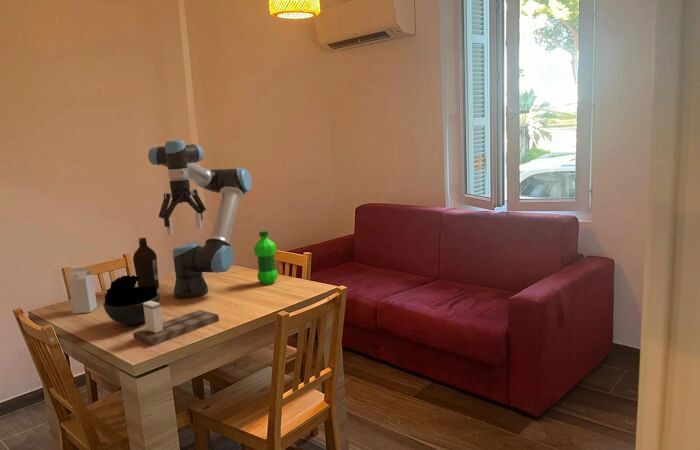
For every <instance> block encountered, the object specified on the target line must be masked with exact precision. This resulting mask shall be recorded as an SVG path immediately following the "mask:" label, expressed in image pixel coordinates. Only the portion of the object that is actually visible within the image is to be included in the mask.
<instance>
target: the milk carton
mask: <svg viewBox="0 0 700 450" xmlns="http://www.w3.org/2000/svg"><path fill="white" fill-rule="evenodd" d="M69 270H70V272H69V274H68V275H69V276H68V279H67V281H68V283H67V284H68V289H69V294H70V299H71V300H70V301H71V307H72V314H74V315H75V314H85V313H91V312H93V311H95V309H96V308H98V303H97V297H96V291H95V284H94V277H93V273H92V272H91V271H90V270H89V268H88V267H87V266H86V267H84V266H83V267H75V268H74V267H71V268H70V269H69Z"/></svg>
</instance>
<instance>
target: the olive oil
mask: <svg viewBox="0 0 700 450" xmlns="http://www.w3.org/2000/svg"><path fill="white" fill-rule="evenodd" d="M157 257H158V256H157V253H156V252H155V250H154V249H152V248H151V247H150V246H148V243H147V238H146V237H139V238H138V248H137V249H136V250H135V252H133V257H132V261H133V267H134V271H135V272H134V273H135V276H136V277H139V279H138V280H137V282H136V284H137V287H142V286H148V287H151V286H153V285H154V286H155V287H156V289H159V288H160V283H159V281H160V280H159V271H158V258H157Z"/></svg>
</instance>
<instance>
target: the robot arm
mask: <svg viewBox="0 0 700 450" xmlns="http://www.w3.org/2000/svg"><path fill="white" fill-rule="evenodd" d="M204 156H205V155H204V149H203V148H202V147H201V146H200V145H199V144H186V143H185V141H184V140H182V139H181V140H180V139H179V140H177V139H176V140H168V141H165V143H164V146H163V145H162V146H159V145H158V146H153V147H150V149H149V150H148V153H147V159H148V161H149V163H150V164H152V165H153V166H154V165H156V166H163V167H165V168H166V167H167V173H168V179H169V189H170V191H171V192H169V193H168V192H165V193H163V201H162V204H161V207H160V211H159V214H158V218H160V219H163V221H164V227H165V228H166V231H167V235H168V236H173V235H174V232H173V230H174V229H173V224H172V218H170V217H171V215H172V214H173V212H174V210H175V208H176V207H177V206H178V204H183V203H188V204H189V206H190V207H191V208H192V209H193V210H194V211H195V212H196V213H194V214H195V215H194V216H195V223H196V229H197V230H202V229H203V223H202V221H203V213H204V211H205V212H206V210H207V208H206V207H205V204H204V203H203V201H202V200H201V198H200V196H199V194H198V190H197V189H191V190H190V188H191V186H190V185H191V184H190V180H191V181H193V182H194V183H195V185H197V186H198V187H200V188H201V189H204V190H206V191H209V192H212V193H216V194H220V195H221V196H220V197H221V198H220V202H219V205H218V208H217V213H216V216H215V220H214V223H213V226H212V230H211V234H210V237H209V238H207V239H205V241H204V246H201V245H200V243H199V242H191V243H185V244H182V245H181V244H180V245H178V246H175V247H174V248H173V249H172V250H173V251H172V258H173V264H174V265H173V266H174V272H175V273H174V274H175V284H174V288H173V296H174V298H175V299H180V300H184V299H185V300H187V299H194V298H198V297H199V298H200V297H203V296H204V295H207V294H208V293H209V287H208V284H207V283H206V280H205V277H204V275H203V273H214V274H219V273H225V272H227V271H229V270H230V268H231V267H232V266H233V263H234V259H235V257H234V255H235V252H234V249H233V248H232V245H231V243H230V239H231V236H232V232H233V228H234V224H235V221H236V216H237V212H238V208H239V205H240V202H241V200H244V197H245V194H246V193H249V192H251V190H252V187H253V186H252V184H253V183H252V177H251V175H250V172H249V171H248V170H247V169H246V168H241V167H240V168H239V167H237V168H221V169H220V168H218V169H211V168H208V167H205V166H203V167H202V166H201V165H199V164H197V163H198V162H201V161H202V159H203V158H204ZM189 179H190V180H189ZM171 198H172V199H171Z"/></svg>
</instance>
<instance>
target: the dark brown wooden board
mask: <svg viewBox="0 0 700 450" xmlns="http://www.w3.org/2000/svg"><path fill="white" fill-rule="evenodd" d="M219 321H220V317H219V314H218V313H213V312H211V311H206V310H203V309H202V310H201V309H197V310H195V311H192V312H190V313H186V314H184V315H180V316H178V317H174V318H172V319H168V320H166V321H162V325H163V330H162V331H159V332H157V333H154V332H152V331H149V330H146V327H145V328H143V329H140V330H138V331H137V330H136V331H135V332H134V331H133V333H132V335H133V340H134V341H138V342H140V343H142V344H145V345H147V346H151V347H154V346H156V345H160V344H162V343H165V342H167V341H170V340H172V339H175V338H177V337H179V336H183V335H185V334H188V333H191V332H193V331H196V330H199V329H201V328H205V327H206V326H209V325H212V324H215V323H217V322H219Z"/></svg>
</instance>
